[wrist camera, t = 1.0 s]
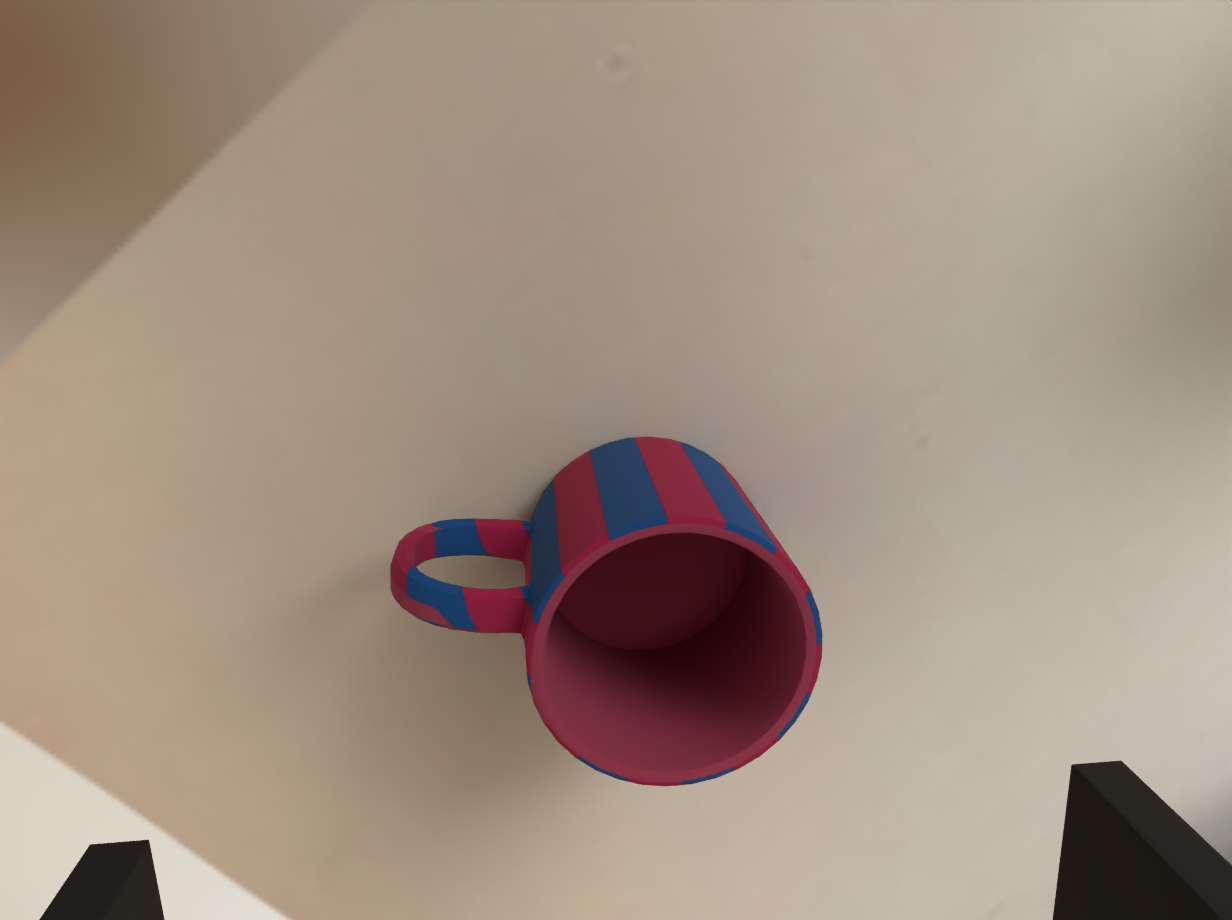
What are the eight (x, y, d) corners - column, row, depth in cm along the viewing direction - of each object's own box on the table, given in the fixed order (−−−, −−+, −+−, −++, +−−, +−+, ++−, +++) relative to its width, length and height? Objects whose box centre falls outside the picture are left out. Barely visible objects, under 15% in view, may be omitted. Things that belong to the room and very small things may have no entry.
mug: (707, 673, 29) (758, 816, 22) (388, 584, 27) (342, 711, 20) (788, 475, 27) (869, 567, 21) (455, 368, 25) (429, 430, 19)
